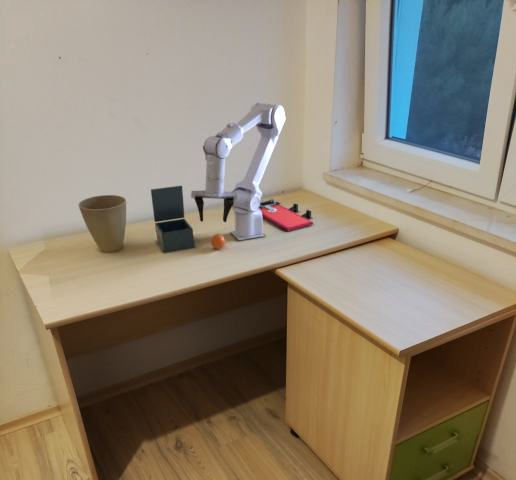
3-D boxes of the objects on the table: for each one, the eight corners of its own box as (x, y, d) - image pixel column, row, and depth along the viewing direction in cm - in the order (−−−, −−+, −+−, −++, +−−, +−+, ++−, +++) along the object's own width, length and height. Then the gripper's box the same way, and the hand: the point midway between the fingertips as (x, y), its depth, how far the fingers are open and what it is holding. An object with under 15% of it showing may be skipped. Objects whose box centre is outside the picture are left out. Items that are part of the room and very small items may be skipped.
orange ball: (222, 244, 172) (222, 231, 170) (227, 249, 169) (226, 236, 166) (209, 246, 171) (208, 233, 168) (213, 252, 167) (212, 238, 165)
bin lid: (182, 186, 167) (181, 185, 168) (151, 190, 164) (150, 189, 165) (184, 217, 174) (183, 216, 175) (154, 222, 171) (154, 221, 172)
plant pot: (139, 240, 176) (132, 195, 167) (123, 258, 164) (115, 210, 155) (99, 238, 178) (90, 193, 169) (80, 255, 166) (70, 208, 157)
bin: (194, 247, 171) (192, 228, 167) (164, 252, 167) (161, 233, 164) (186, 236, 179) (184, 218, 175) (157, 241, 175) (154, 222, 172)
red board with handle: (276, 200, 209) (245, 208, 202) (276, 193, 207) (244, 201, 201) (320, 223, 188) (287, 232, 182) (321, 216, 186) (287, 225, 180)
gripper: (193, 179, 153) (192, 223, 159) (240, 181, 156) (237, 224, 163) (190, 175, 159) (189, 218, 165) (235, 177, 162) (232, 219, 169)
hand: (213, 221), depth 164 cm, fingers open, 7 cm apart
